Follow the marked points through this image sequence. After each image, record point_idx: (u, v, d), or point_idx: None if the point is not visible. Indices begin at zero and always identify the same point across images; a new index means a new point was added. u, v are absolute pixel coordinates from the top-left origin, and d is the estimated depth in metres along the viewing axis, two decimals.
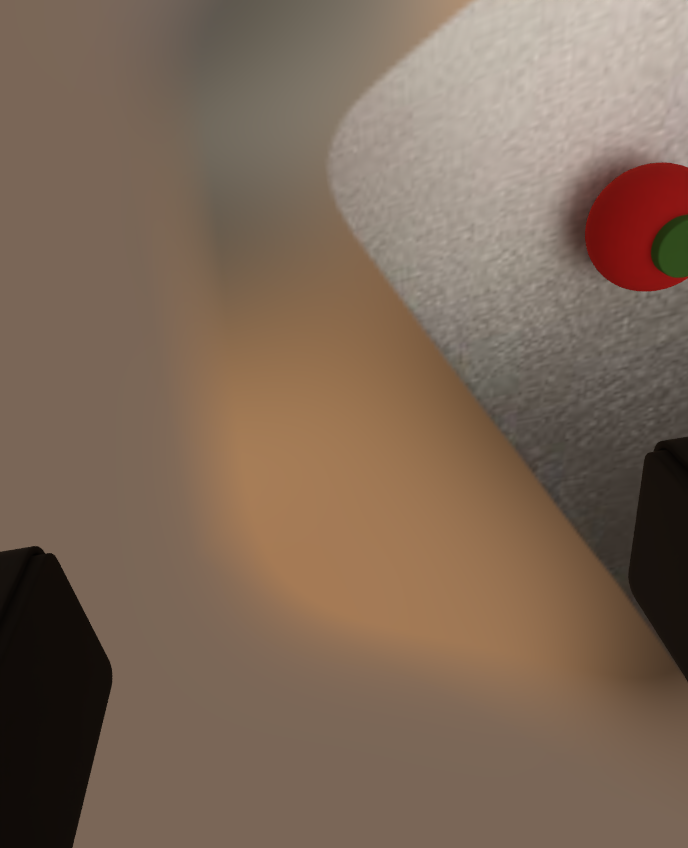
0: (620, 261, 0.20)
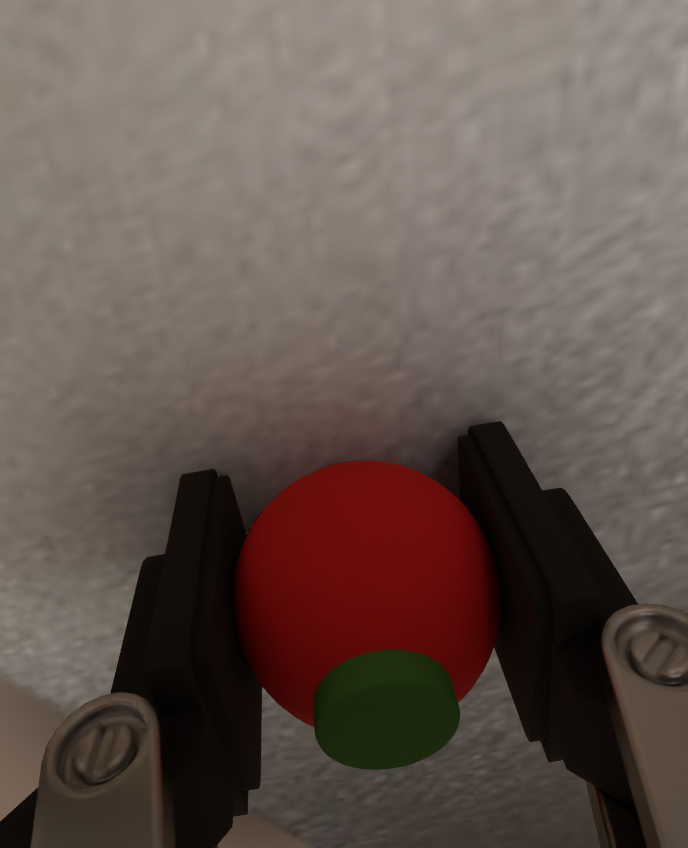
0: (273, 697, 0.09)
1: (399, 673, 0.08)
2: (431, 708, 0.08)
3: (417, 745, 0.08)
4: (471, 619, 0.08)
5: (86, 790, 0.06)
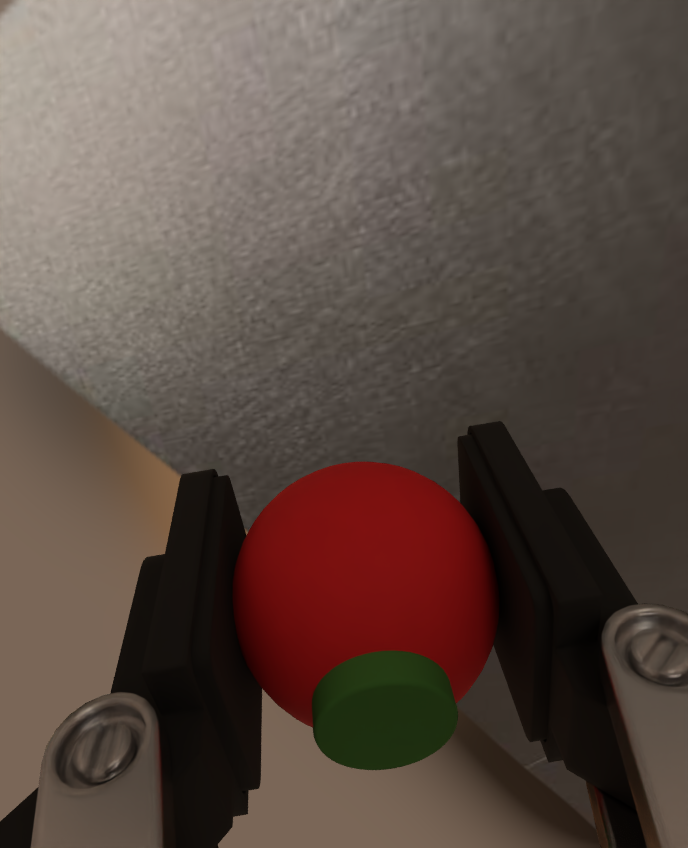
0: None
1: (397, 674, 0.08)
2: (429, 708, 0.08)
3: (416, 746, 0.08)
4: (469, 620, 0.08)
5: (85, 790, 0.06)
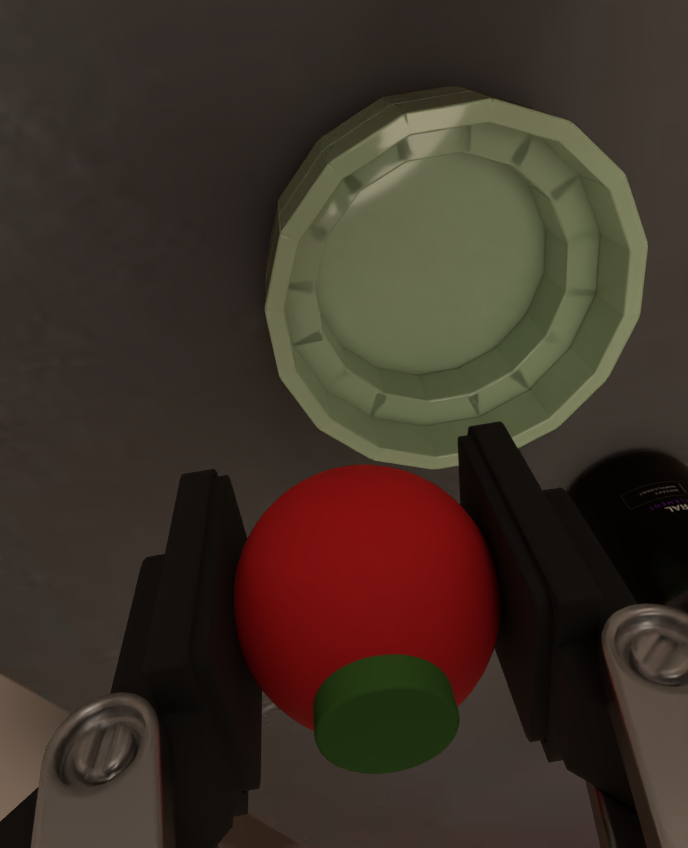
0: (273, 701, 0.09)
1: (399, 677, 0.08)
2: (430, 712, 0.08)
3: (417, 750, 0.08)
4: (470, 623, 0.08)
5: (85, 790, 0.06)
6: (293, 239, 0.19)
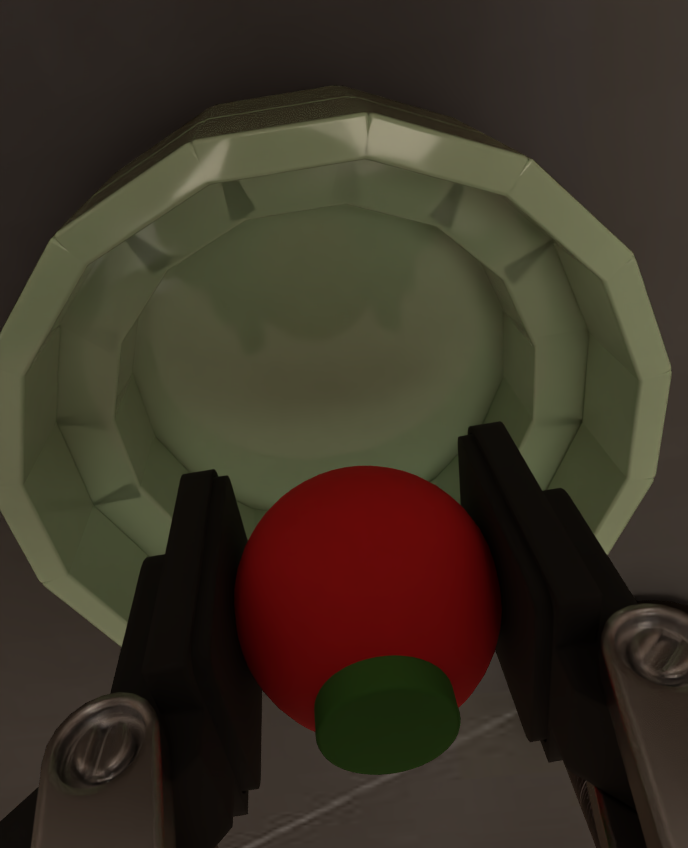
0: (274, 702, 0.09)
1: (400, 679, 0.08)
2: (432, 713, 0.08)
3: (418, 751, 0.08)
4: (472, 624, 0.08)
5: (85, 790, 0.06)
6: (12, 372, 0.10)
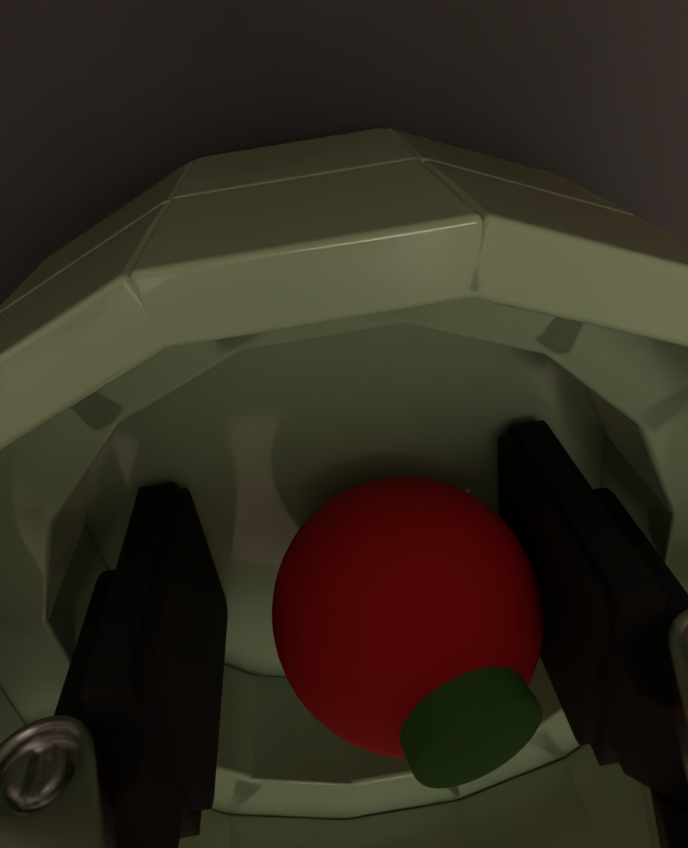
0: (341, 736, 0.09)
1: (493, 692, 0.08)
2: (520, 717, 0.08)
3: (502, 753, 0.08)
4: (533, 621, 0.09)
5: (19, 818, 0.06)
6: None
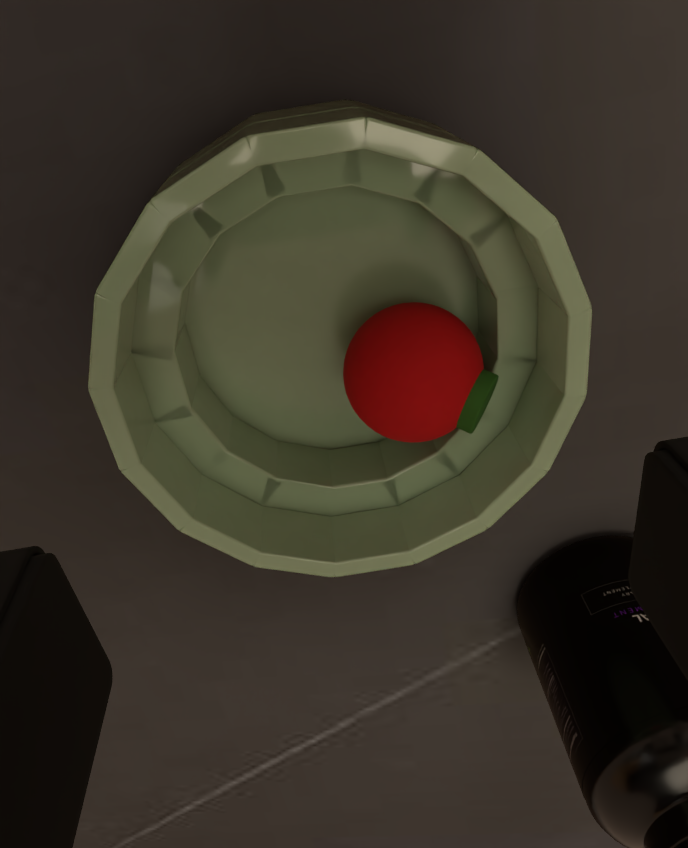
0: (426, 436, 0.18)
1: (491, 377, 0.17)
2: (494, 386, 0.18)
3: (485, 408, 0.19)
4: None
5: None
6: (113, 300, 0.14)
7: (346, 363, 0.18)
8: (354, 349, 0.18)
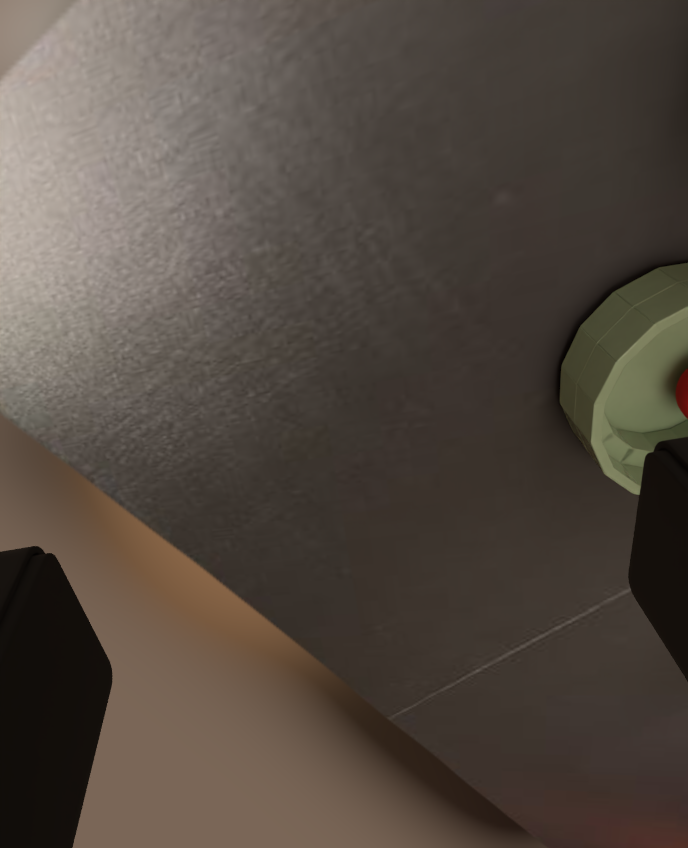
0: None
1: None
2: None
3: None
4: None
5: None
6: (622, 364, 0.32)
7: (686, 388, 0.35)
8: None
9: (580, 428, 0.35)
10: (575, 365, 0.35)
